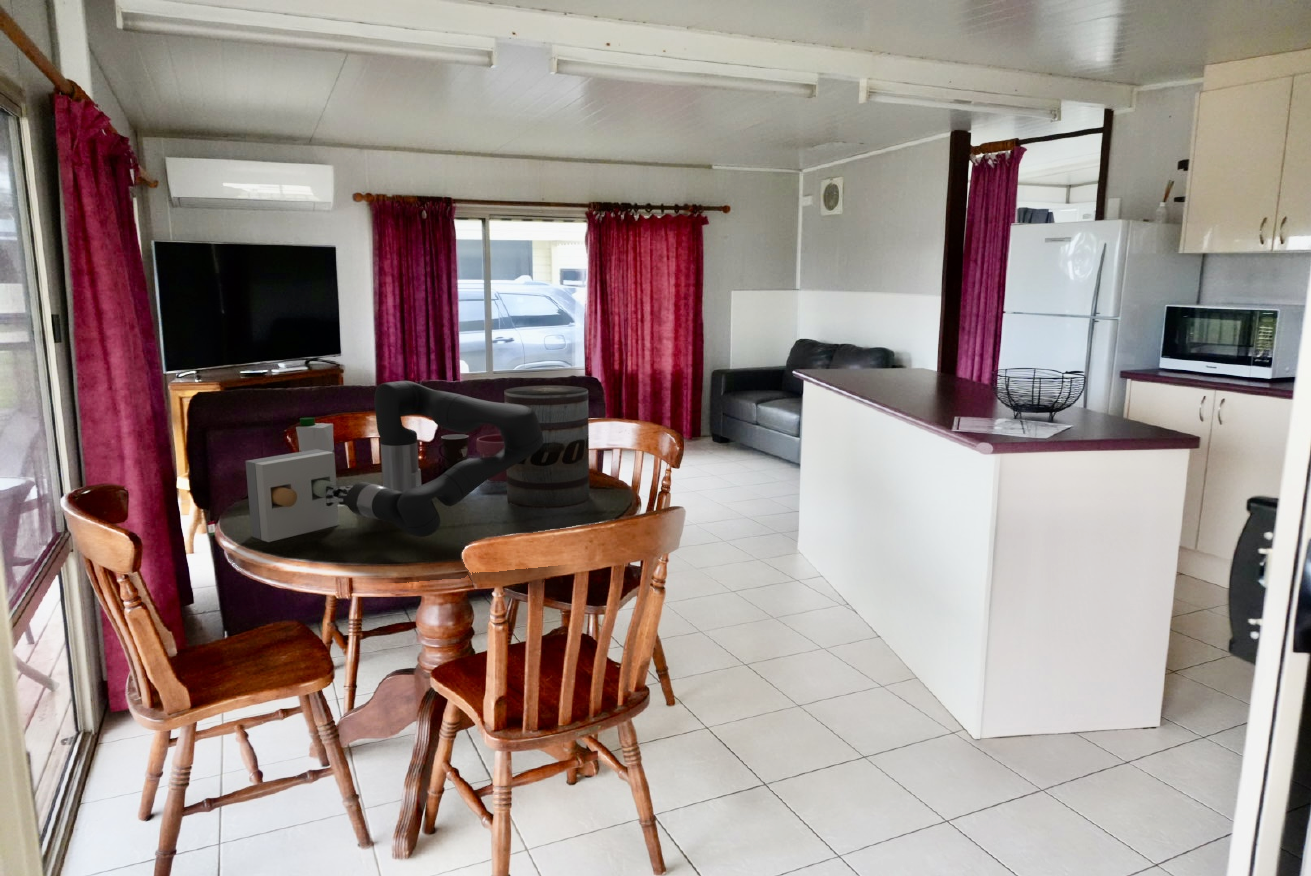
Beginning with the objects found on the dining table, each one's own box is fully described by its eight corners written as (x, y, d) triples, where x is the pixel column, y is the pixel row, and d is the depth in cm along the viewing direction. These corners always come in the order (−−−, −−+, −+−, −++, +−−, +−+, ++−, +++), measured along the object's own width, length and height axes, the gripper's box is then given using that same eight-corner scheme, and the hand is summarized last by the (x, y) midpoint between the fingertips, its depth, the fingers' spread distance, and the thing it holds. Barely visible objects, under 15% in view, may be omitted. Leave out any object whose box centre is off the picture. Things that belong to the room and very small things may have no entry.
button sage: (336, 496, 203) (335, 480, 202) (321, 499, 200) (320, 483, 199) (322, 492, 207) (321, 476, 206) (307, 496, 203) (306, 479, 203)
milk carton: (310, 482, 253) (305, 415, 249) (340, 482, 252) (336, 416, 249) (297, 489, 244) (292, 420, 241) (328, 489, 244) (323, 420, 240)
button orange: (297, 504, 195) (296, 488, 194) (281, 508, 192) (280, 491, 191) (283, 501, 199) (282, 484, 198) (267, 504, 196) (266, 487, 195)
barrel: (546, 513, 219) (543, 397, 214) (490, 499, 234) (486, 390, 228) (606, 497, 236) (605, 389, 231) (550, 484, 251) (548, 383, 245)
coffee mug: (462, 463, 280) (461, 433, 279) (474, 467, 274) (473, 437, 272) (429, 467, 273) (427, 437, 271) (441, 472, 267) (439, 441, 265)
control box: (338, 524, 208) (334, 452, 205) (268, 542, 194) (262, 464, 191) (322, 519, 212) (317, 449, 209) (251, 536, 198) (245, 460, 195)
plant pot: (470, 477, 260) (469, 436, 258) (513, 472, 267) (512, 432, 265) (488, 486, 248) (487, 443, 246) (532, 480, 256) (531, 439, 253)
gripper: (396, 479, 195) (352, 469, 206) (345, 490, 185) (301, 479, 195) (398, 511, 197) (354, 499, 207) (347, 523, 186) (304, 511, 197)
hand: (328, 489), depth 201 cm, fingers closed
